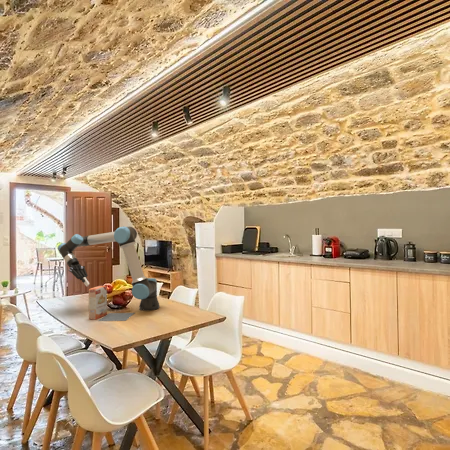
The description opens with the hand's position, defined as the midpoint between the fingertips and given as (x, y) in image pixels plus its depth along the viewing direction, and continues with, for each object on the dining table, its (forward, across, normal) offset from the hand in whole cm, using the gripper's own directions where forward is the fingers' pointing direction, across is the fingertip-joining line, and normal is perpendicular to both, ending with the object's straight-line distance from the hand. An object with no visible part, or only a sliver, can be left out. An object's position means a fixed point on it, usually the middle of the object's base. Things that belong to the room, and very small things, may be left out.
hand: (88, 285), depth 242 cm
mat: (+31, -6, 0) cm, 31 cm away
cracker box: (+22, 0, -9) cm, 24 cm away
